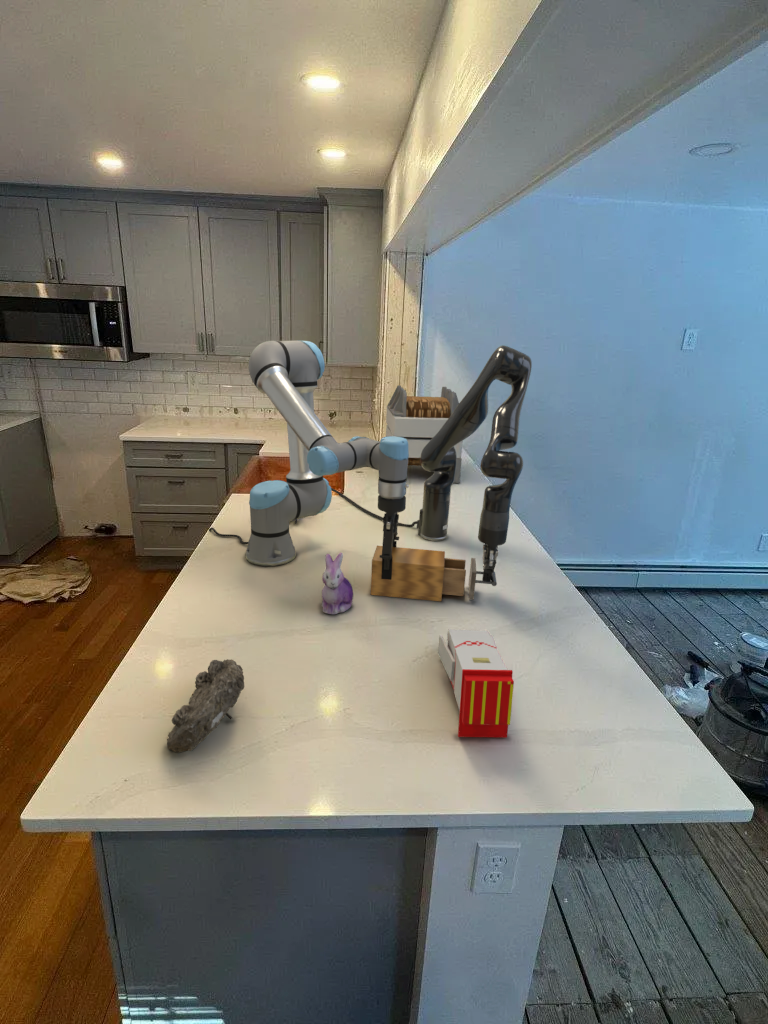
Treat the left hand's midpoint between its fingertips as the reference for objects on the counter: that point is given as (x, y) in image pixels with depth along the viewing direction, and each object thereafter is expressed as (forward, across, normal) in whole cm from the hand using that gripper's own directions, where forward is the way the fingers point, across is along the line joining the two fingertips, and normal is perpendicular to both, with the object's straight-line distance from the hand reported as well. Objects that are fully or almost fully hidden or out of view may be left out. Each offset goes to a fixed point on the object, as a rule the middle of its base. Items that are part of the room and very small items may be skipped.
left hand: (388, 570), depth 159 cm
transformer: (+6, +122, -2) cm, 122 cm away
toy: (+6, -43, -22) cm, 49 cm away
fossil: (+5, -59, +27) cm, 65 cm away
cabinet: (+6, 0, -6) cm, 8 cm away
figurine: (+6, -14, +12) cm, 19 cm away
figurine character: (+5, +47, +40) cm, 62 cm away
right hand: (+1, 0, -27) cm, 27 cm away
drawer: (+5, 0, -18) cm, 18 cm away
